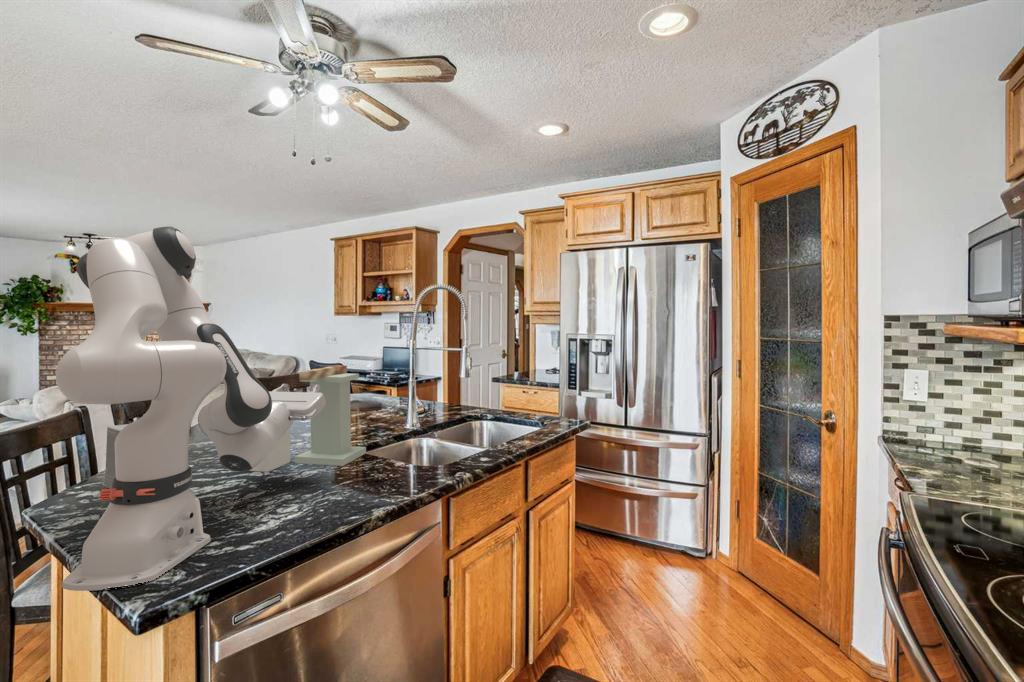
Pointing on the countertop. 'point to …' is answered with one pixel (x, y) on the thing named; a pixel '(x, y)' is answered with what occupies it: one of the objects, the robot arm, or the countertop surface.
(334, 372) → the bar
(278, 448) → the rest block
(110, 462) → the skincare box
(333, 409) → the shelf stand
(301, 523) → the countertop surface
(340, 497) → the countertop surface
